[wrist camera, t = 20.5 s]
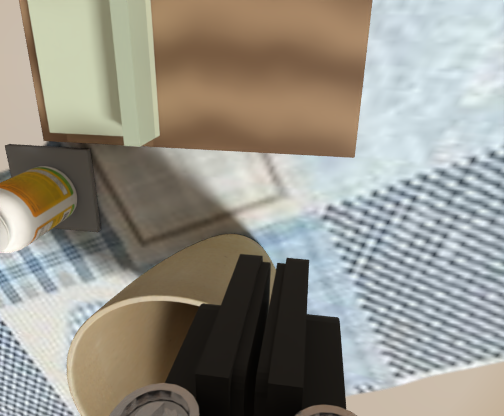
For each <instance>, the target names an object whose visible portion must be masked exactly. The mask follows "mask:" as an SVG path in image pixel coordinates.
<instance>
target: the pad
mask: <svg viewBox="0 0 504 416" xmlns="http://www.w3.org/2000/svg"><path fill="white" fill-rule="evenodd" d="M5 149H6V154H7V158H8V162H9V168H10V172H11V177H15V176H17V175H19V174H21V173H24V172H26V171H28V170H30V169H33V168H36V167H40V166H48V167H52V168H55V169H57V170H59V171H61V172H62V173H64V174H65V175H66V176H67V177H68V178H69V179H70V181H71V182H72V184H73V185H74V187H75V190H76V193H77V205H76V208H75V210H74V212H73V213H72V214H71V215H70V216H69V217H68V218H66V219H65V220H64V221H62V222H61V223H59V224H58V225H56V226H55V227H53V228H57V229H69V230H81V231H92V232H99V231H100V230H101V225H100V218H99V210H98V203H97V195H96V188H95V181H94V173H93V166H92V158H91V151H90V149H87V148H69V147H51V146H32V145H14V144H9V145H5Z"/></svg>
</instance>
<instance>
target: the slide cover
mask: <svg viewBox="0 0 504 416" xmlns="http://www.w3.org/2000/svg"><path fill="white" fill-rule="evenodd" d="M27 1H28V7H29V13H30V19H31V25H32V31H33V36H34V42H35V48H36V54H37V60H38V66H39V72H40V78H41V84H42V89H43V95H44V101H45V107H46V113H47V119H48V125H49V131H50V133H67V134H87V135H107V136H123V139H124V146H135V147H140V146H142V145H144V144H146V143H147V142H149V141H151V140H153V139H154V138H156V137H158V136H160V131H159V116H158V101H157V87H156V72H155V57H154V43H153V28H152V14H151V0H27Z"/></svg>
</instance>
